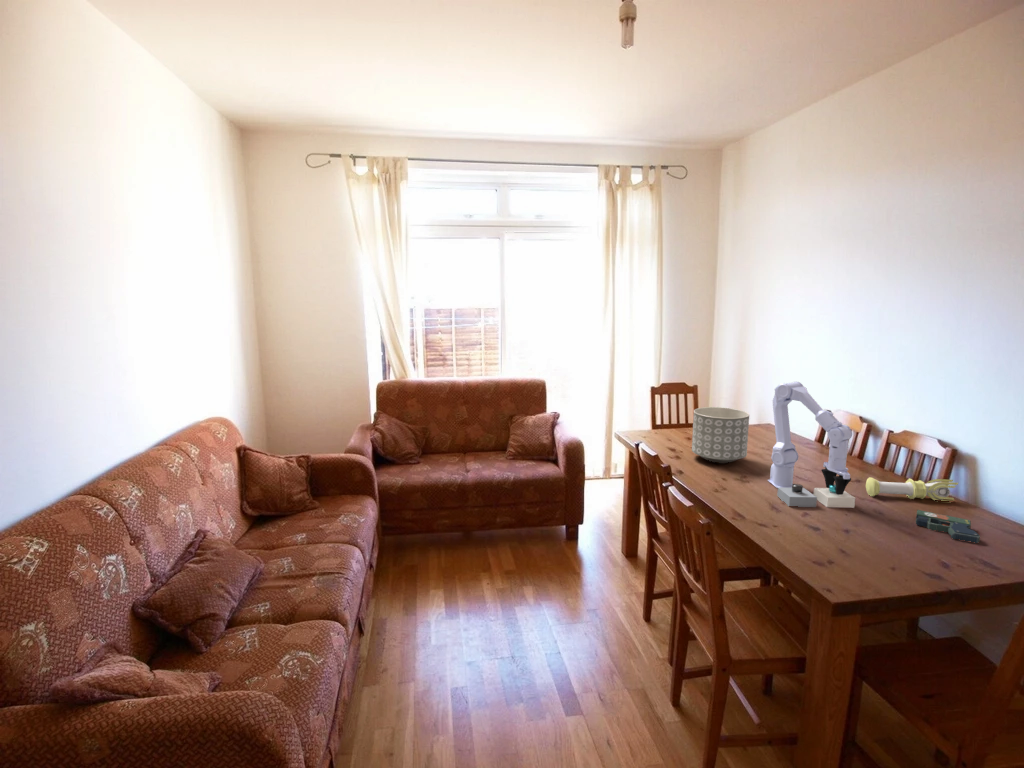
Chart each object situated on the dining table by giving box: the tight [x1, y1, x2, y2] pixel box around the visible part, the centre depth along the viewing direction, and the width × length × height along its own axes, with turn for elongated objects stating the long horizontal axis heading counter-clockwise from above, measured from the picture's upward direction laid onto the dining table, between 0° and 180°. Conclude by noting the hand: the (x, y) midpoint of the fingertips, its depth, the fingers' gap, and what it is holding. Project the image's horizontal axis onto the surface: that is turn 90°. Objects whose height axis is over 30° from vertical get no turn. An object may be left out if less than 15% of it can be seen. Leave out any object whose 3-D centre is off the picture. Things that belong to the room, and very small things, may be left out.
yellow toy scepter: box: [865, 477, 959, 501], centre depth 203 cm, size 8×8×30 cm
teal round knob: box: [829, 483, 836, 494], centre depth 199 cm, size 4×4×6 cm
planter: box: [691, 406, 750, 464], centre depth 252 cm, size 25×25×24 cm
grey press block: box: [776, 487, 818, 508], centre depth 200 cm, size 10×10×4 cm
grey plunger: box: [792, 483, 804, 494], centre depth 200 cm, size 4×4×6 cm
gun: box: [915, 509, 981, 544], centre depth 175 cm, size 3×16×15 cm
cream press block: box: [812, 487, 856, 509], centre depth 200 cm, size 10×10×4 cm
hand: (834, 490), depth 199 cm, fingers open, 6 cm apart
